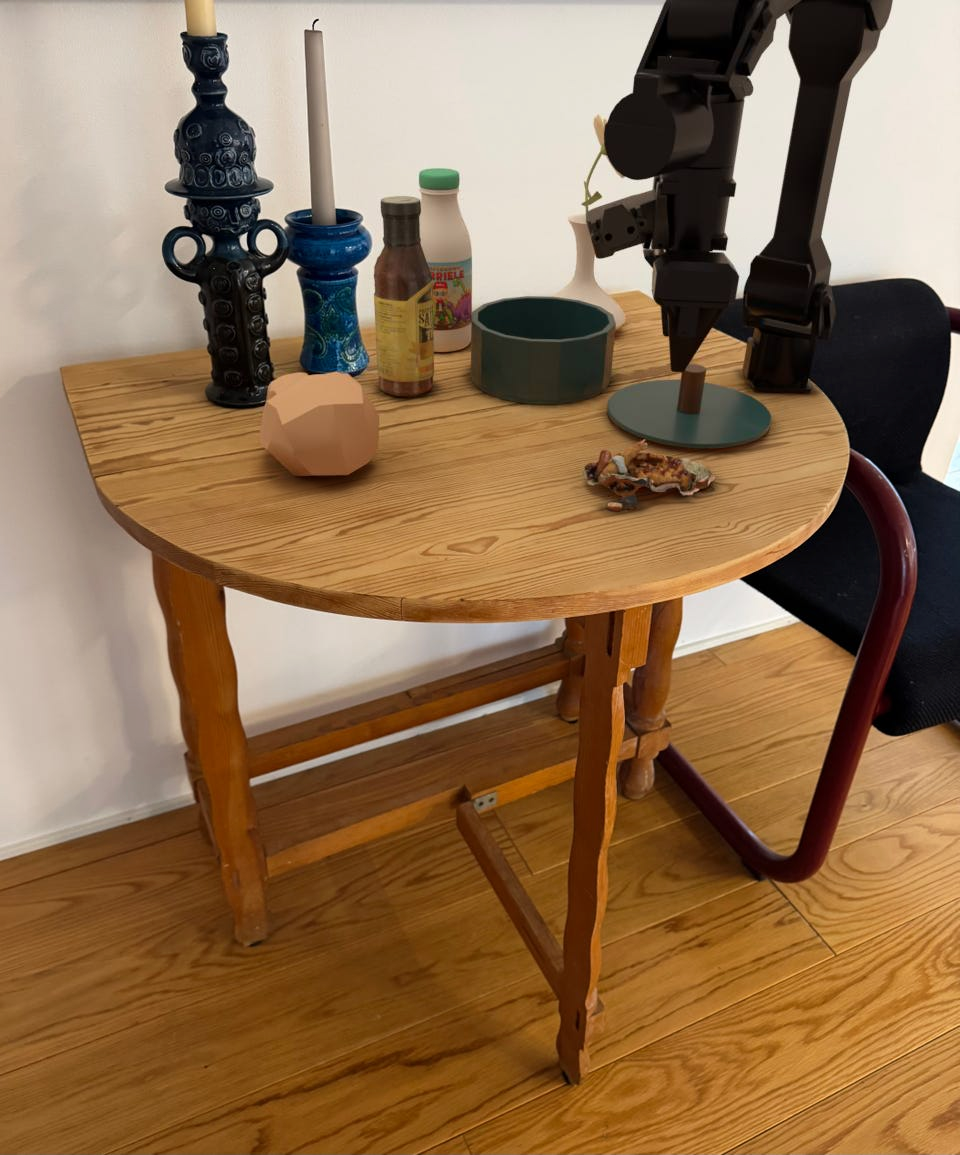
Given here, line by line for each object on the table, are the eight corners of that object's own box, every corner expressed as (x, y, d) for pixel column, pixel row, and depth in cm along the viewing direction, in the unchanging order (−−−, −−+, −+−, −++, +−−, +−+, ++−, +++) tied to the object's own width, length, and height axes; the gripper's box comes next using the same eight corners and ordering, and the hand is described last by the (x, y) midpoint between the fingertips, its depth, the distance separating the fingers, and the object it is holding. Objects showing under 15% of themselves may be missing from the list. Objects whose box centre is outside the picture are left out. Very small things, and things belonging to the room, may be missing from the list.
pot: (602, 355, 115) (607, 297, 111) (616, 406, 102) (622, 342, 98) (472, 352, 115) (473, 294, 112) (469, 403, 102) (469, 339, 98)
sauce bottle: (432, 400, 103) (429, 207, 92) (375, 398, 103) (365, 206, 92) (436, 377, 108) (434, 193, 97) (381, 376, 108) (373, 192, 97)
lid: (749, 390, 106) (758, 341, 103) (787, 455, 92) (799, 402, 89) (599, 387, 106) (604, 338, 103) (614, 452, 92) (620, 398, 89)
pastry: (726, 489, 86) (732, 453, 84) (612, 514, 82) (615, 476, 80) (682, 457, 92) (687, 423, 90) (572, 479, 87) (575, 444, 85)
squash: (289, 508, 83) (257, 411, 78) (247, 444, 99) (218, 362, 95) (404, 467, 85) (379, 372, 81) (343, 412, 102) (320, 331, 97)
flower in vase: (619, 348, 117) (640, 126, 104) (528, 339, 119) (538, 121, 106) (630, 316, 128) (650, 111, 114) (546, 309, 130) (557, 107, 116)
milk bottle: (402, 335, 120) (397, 166, 109) (461, 330, 122) (462, 163, 111) (418, 356, 114) (414, 178, 103) (479, 350, 116) (481, 175, 105)
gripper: (594, 141, 84) (581, 316, 92) (598, 181, 68) (581, 387, 76) (722, 145, 83) (697, 321, 91) (755, 186, 67) (721, 394, 76)
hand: (672, 353), depth 84 cm, fingers open, 9 cm apart
